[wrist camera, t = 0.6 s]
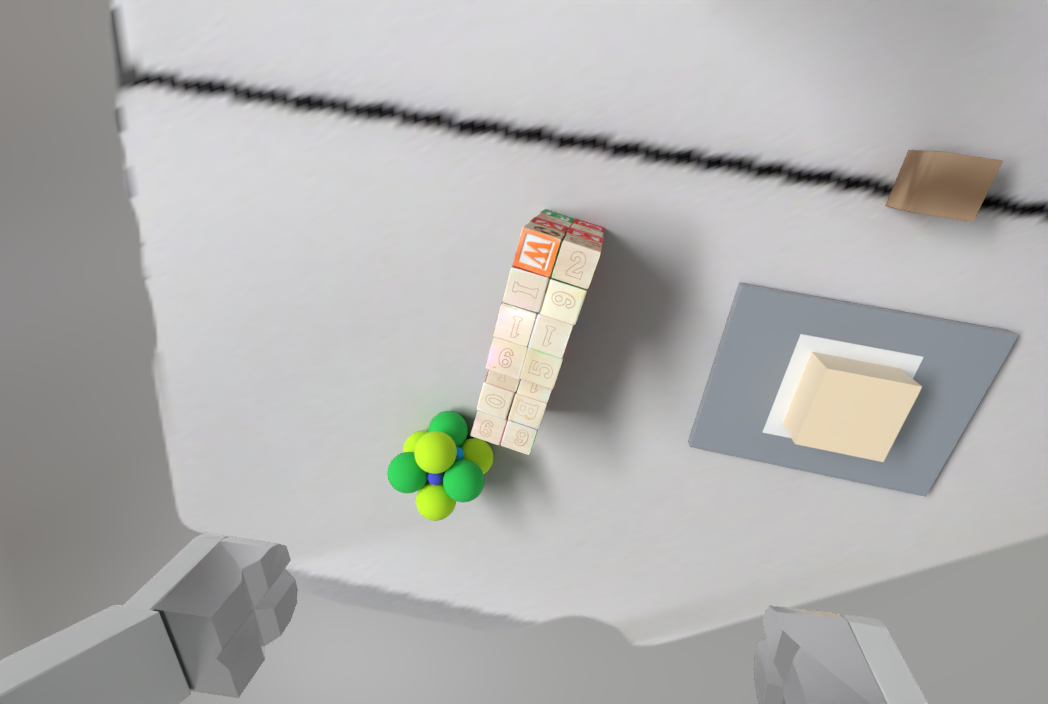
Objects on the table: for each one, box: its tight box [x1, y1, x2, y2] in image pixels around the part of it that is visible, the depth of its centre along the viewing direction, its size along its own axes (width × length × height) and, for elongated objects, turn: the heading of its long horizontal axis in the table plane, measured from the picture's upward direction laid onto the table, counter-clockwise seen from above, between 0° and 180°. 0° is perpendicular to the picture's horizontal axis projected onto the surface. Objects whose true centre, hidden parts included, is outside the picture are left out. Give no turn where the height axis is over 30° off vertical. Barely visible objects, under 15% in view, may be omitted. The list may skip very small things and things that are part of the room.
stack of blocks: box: [470, 209, 605, 455], centre depth 48 cm, size 21×6×12 cm, turn 164°
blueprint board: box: [688, 283, 1018, 496], centre depth 49 cm, size 18×24×5 cm
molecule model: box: [388, 411, 493, 521], centre depth 57 cm, size 9×9×9 cm
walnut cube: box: [885, 150, 1003, 222], centre depth 41 cm, size 4×4×4 cm
